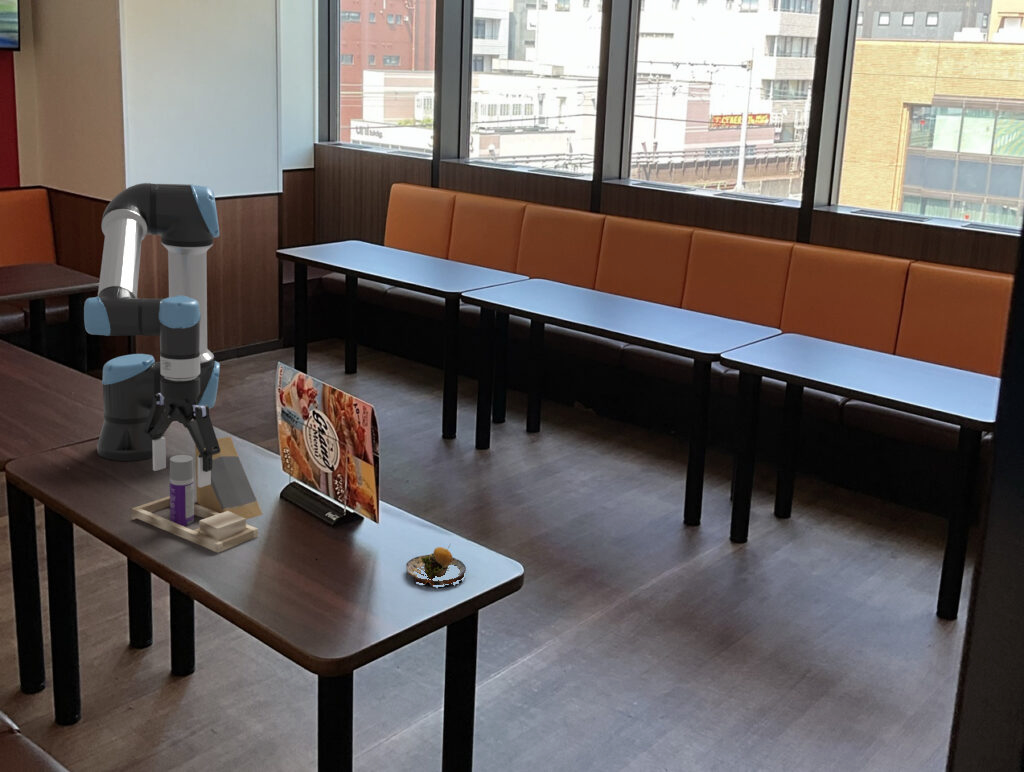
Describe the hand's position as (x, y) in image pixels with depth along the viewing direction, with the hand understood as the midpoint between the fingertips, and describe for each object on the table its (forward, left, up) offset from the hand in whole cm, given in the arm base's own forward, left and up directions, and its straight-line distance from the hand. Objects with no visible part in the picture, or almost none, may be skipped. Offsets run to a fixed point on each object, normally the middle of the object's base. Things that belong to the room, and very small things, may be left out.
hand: (181, 477), depth 219 cm
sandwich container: (+2, +11, -11) cm, 16 cm away
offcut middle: (+12, 0, -10) cm, 15 cm away
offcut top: (+12, 0, -8) cm, 14 cm away
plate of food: (+52, +18, -12) cm, 56 cm away
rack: (+3, 0, -11) cm, 12 cm away
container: (0, 0, -11) cm, 11 cm away
